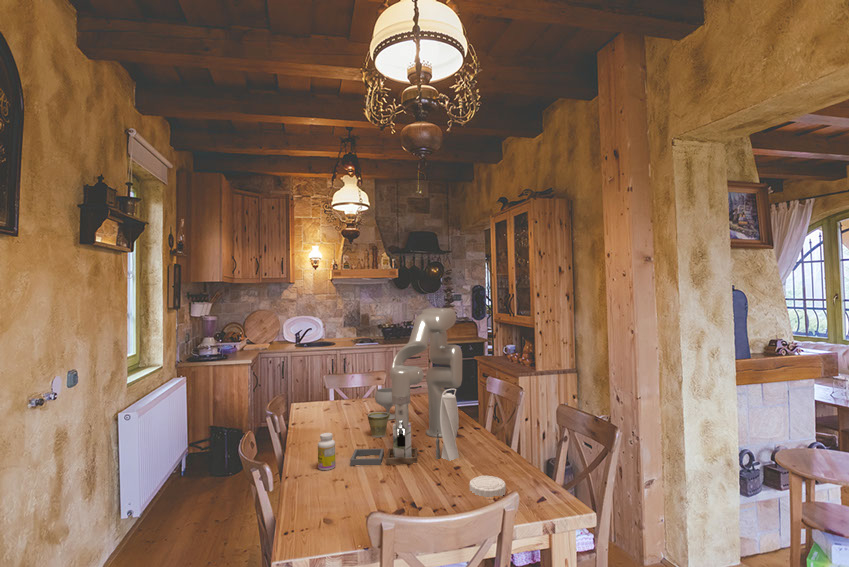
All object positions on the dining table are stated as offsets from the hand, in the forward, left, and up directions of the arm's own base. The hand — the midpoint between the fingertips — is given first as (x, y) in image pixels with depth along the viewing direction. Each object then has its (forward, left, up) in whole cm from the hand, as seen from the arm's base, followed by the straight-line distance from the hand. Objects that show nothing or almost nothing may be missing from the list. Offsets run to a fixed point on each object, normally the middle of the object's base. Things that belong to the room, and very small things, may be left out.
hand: (402, 442), depth 178 cm
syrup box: (0, 0, -7) cm, 7 cm away
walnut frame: (0, 0, -7) cm, 7 cm away
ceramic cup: (+12, -33, -7) cm, 36 cm away
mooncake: (-30, +31, -7) cm, 44 cm away
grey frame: (+14, 0, -7) cm, 16 cm away
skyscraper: (-19, +1, -7) cm, 20 cm away
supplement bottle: (+29, +7, -7) cm, 31 cm away
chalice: (+11, -64, -7) cm, 65 cm away
